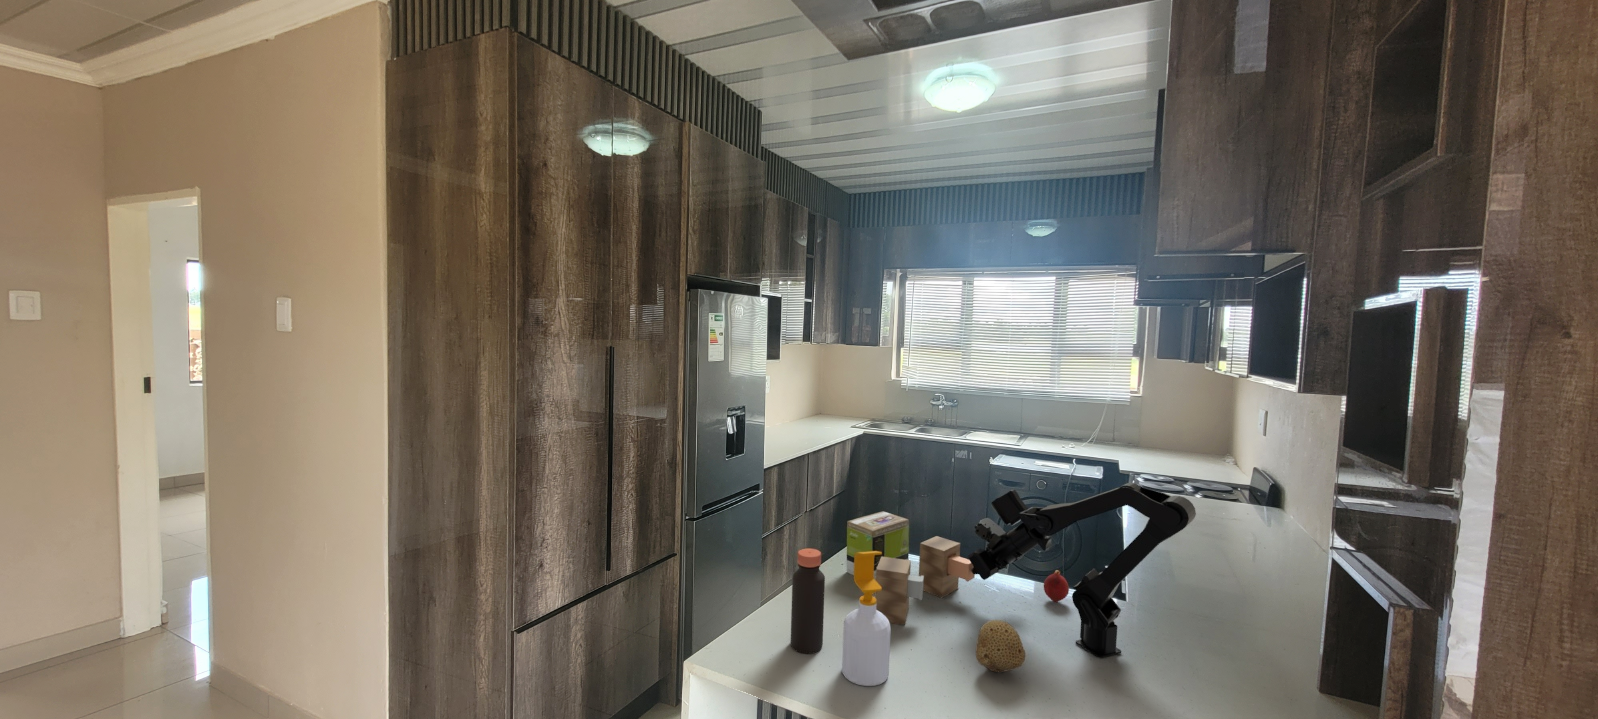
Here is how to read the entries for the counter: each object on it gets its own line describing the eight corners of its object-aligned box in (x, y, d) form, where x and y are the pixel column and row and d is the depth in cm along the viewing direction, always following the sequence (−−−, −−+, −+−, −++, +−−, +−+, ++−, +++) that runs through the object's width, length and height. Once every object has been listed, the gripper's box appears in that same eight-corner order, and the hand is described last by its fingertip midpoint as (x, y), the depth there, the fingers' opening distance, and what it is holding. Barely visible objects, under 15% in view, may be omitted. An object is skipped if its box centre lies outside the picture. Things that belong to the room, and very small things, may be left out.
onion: (1064, 609, 146) (1066, 577, 145) (1040, 602, 149) (1041, 571, 149) (1070, 601, 151) (1072, 570, 150) (1046, 594, 154) (1048, 564, 154)
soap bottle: (851, 690, 111) (856, 560, 110) (835, 663, 120) (840, 542, 118) (896, 684, 113) (901, 557, 112) (877, 657, 122) (882, 539, 121)
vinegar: (825, 640, 128) (828, 548, 127) (818, 656, 122) (821, 560, 121) (795, 634, 130) (798, 544, 129) (786, 650, 124) (789, 556, 123)
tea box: (882, 559, 174) (884, 509, 173) (909, 571, 166) (911, 519, 165) (844, 572, 164) (846, 519, 163) (871, 585, 157) (873, 529, 156)
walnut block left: (908, 609, 144) (910, 560, 143) (905, 625, 136) (907, 573, 135) (879, 604, 146) (881, 556, 145) (874, 619, 138) (876, 569, 137)
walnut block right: (958, 588, 156) (960, 543, 155) (941, 597, 150) (944, 550, 150) (934, 579, 161) (936, 535, 160) (918, 588, 155) (920, 543, 155)
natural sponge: (1032, 673, 118) (1034, 624, 118) (1010, 691, 112) (1012, 640, 111) (989, 654, 125) (992, 607, 124) (967, 670, 119) (969, 621, 118)
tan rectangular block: (974, 577, 150) (975, 560, 150) (967, 581, 148) (968, 564, 148) (947, 568, 156) (948, 551, 155) (940, 572, 153) (941, 555, 153)
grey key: (923, 593, 140) (923, 575, 140) (921, 600, 137) (922, 581, 137) (890, 588, 142) (891, 570, 142) (888, 595, 139) (889, 576, 139)
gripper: (1014, 503, 151) (971, 534, 159) (978, 519, 137) (933, 552, 146) (1043, 543, 146) (998, 573, 154) (1009, 563, 132) (961, 594, 141)
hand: (973, 572), depth 149 cm, fingers closed
